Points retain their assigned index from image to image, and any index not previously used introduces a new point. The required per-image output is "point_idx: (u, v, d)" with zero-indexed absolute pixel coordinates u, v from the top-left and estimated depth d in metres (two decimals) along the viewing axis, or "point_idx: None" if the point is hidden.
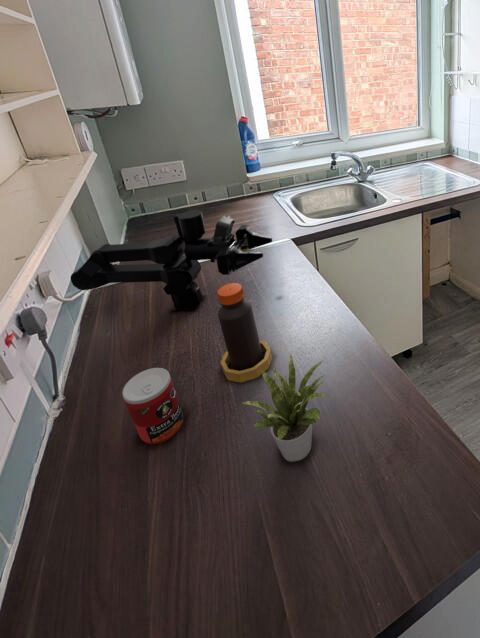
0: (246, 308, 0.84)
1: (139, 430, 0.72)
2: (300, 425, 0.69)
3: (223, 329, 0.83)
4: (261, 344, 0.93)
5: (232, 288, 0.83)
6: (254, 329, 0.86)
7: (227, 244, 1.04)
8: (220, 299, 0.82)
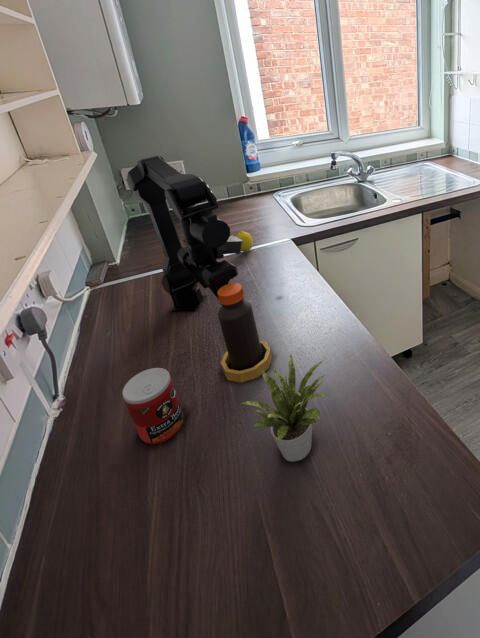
0: (246, 308, 0.84)
1: (139, 430, 0.72)
2: (300, 425, 0.69)
3: (223, 329, 0.83)
4: (261, 344, 0.93)
5: (232, 288, 0.83)
6: (254, 329, 0.86)
7: None
8: (220, 299, 0.82)
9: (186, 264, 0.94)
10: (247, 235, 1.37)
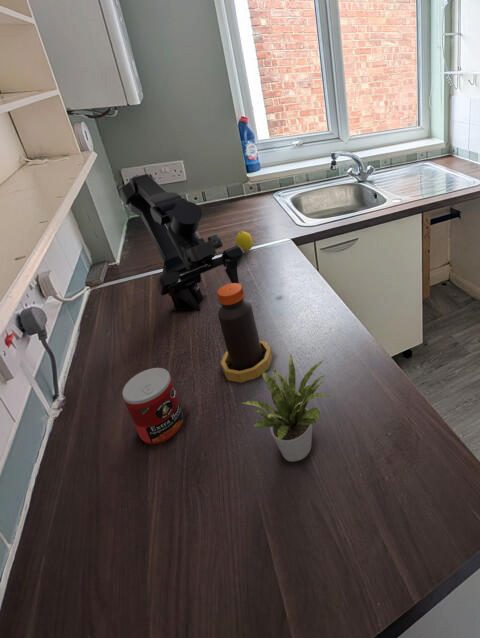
0: (246, 308, 0.84)
1: (139, 430, 0.72)
2: (300, 425, 0.69)
3: (223, 329, 0.83)
4: (261, 344, 0.93)
5: (232, 288, 0.83)
6: (254, 329, 0.86)
7: (191, 266, 0.89)
8: (220, 299, 0.82)
9: None
10: (247, 235, 1.37)
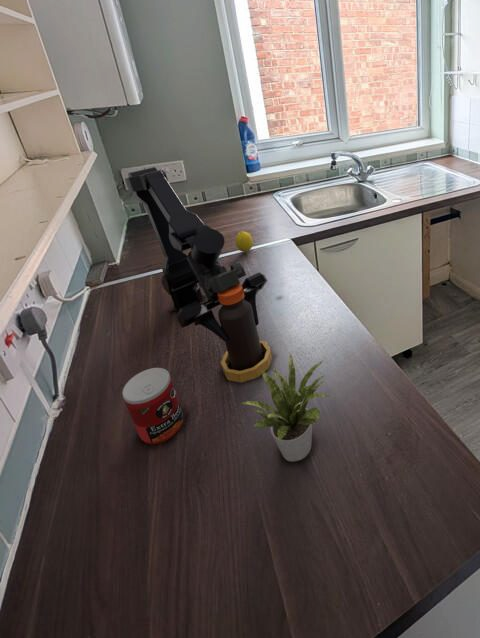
0: (246, 308, 0.84)
1: (139, 430, 0.72)
2: (300, 425, 0.69)
3: (223, 329, 0.83)
4: (261, 344, 0.93)
5: (233, 288, 0.83)
6: (254, 329, 0.86)
7: (213, 296, 0.85)
8: (220, 299, 0.82)
9: None
10: (247, 235, 1.37)
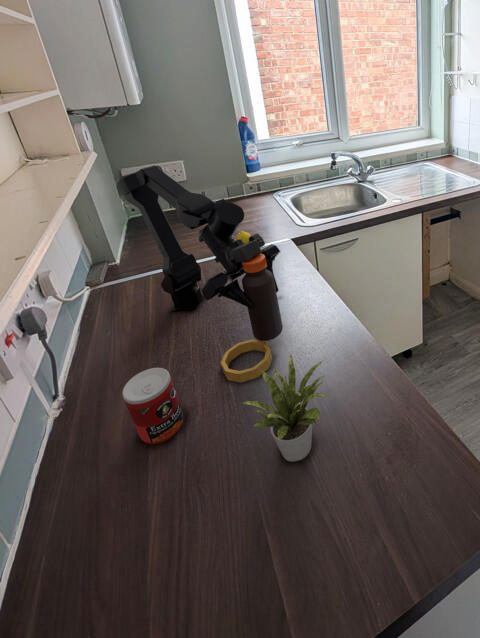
0: (269, 275, 0.89)
1: (139, 430, 0.72)
2: (300, 425, 0.69)
3: (249, 297, 0.87)
4: (261, 344, 0.93)
5: (256, 257, 0.87)
6: (276, 295, 0.91)
7: (235, 267, 0.88)
8: (246, 268, 0.85)
9: None
10: (247, 235, 1.37)
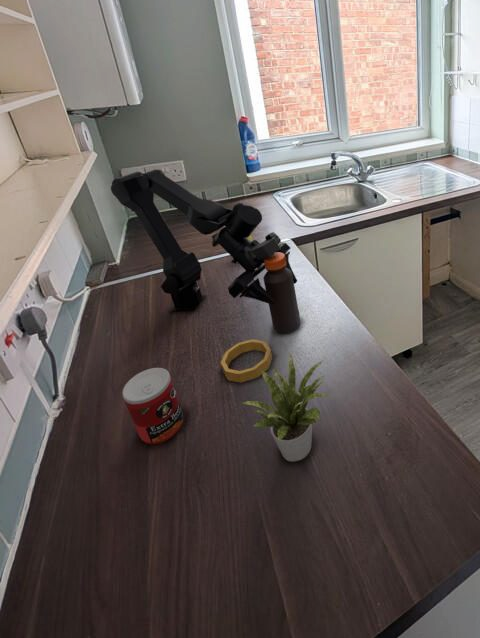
0: (289, 271, 0.97)
1: (139, 430, 0.72)
2: (300, 425, 0.69)
3: (273, 293, 0.95)
4: (261, 344, 0.93)
5: (276, 255, 0.95)
6: None
7: (256, 265, 0.94)
8: (270, 266, 0.93)
9: None
10: None
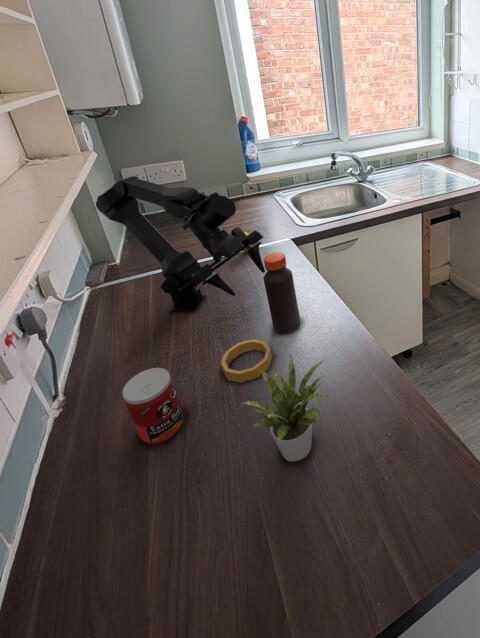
0: (289, 271, 0.97)
1: (139, 430, 0.72)
2: (300, 425, 0.69)
3: (273, 293, 0.95)
4: (261, 344, 0.93)
5: (276, 255, 0.95)
6: None
7: (220, 257, 0.97)
8: (270, 266, 0.93)
9: None
10: (247, 235, 1.37)
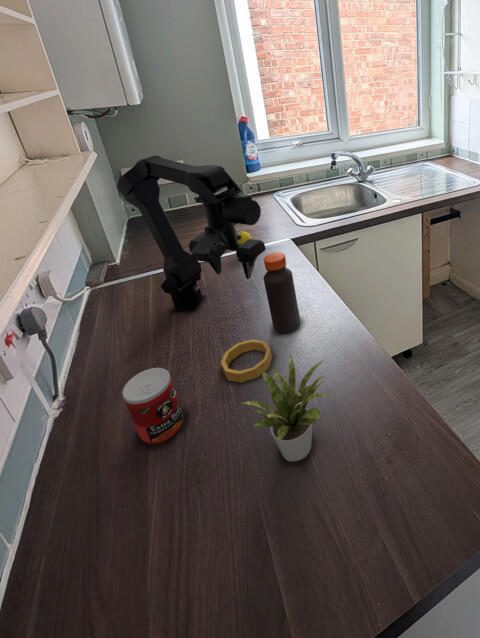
0: (289, 271, 0.97)
1: (139, 430, 0.72)
2: (300, 425, 0.69)
3: (273, 293, 0.95)
4: (261, 344, 0.93)
5: (276, 255, 0.95)
6: None
7: None
8: (270, 266, 0.93)
9: None
10: (247, 235, 1.37)
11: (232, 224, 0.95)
